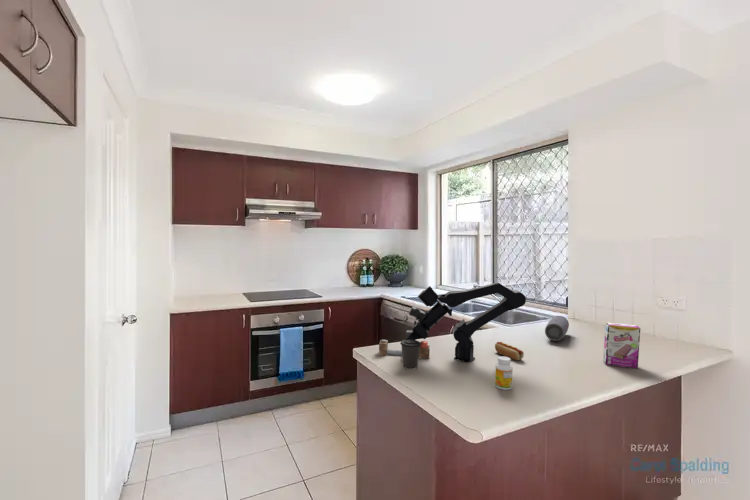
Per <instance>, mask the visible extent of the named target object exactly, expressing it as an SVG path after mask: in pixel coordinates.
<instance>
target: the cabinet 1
mask: <svg viewBox="0 0 750 500" xmlns="http://www.w3.org/2000/svg"><path fill="white" fill-rule="evenodd" d="M388 345H389V341H388V339H380V340H379V344H378V347H379V348H378V355H379V356H384V357H385V356H387V355H388V354H387V349H388V348H389V346H388ZM388 350H389V349H388Z"/></svg>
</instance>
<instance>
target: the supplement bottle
mask: <svg viewBox="0 0 750 500" xmlns="http://www.w3.org/2000/svg"><path fill="white" fill-rule="evenodd" d="M511 360H512V359H510V358H509V357H505V356H503V355H502V356H498V357H497V363H495V374H494V375H495V378H494V386H495V388H497V389H500V390H504V391H507V390H511V389H512V388H513V366H512V364H511V363H512V361H511Z"/></svg>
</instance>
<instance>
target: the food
mask: <svg viewBox="0 0 750 500" xmlns="http://www.w3.org/2000/svg"><path fill="white" fill-rule="evenodd" d="M494 349H495V351H496V352H497V354H499V355H502V356H504V357H509V358H510V359H511V360H514V361H521V360H522V359H523V358H524V356H525V355H524V354H525V353H524V351H523V350H521V349H519V348H518V347H515V346H513V345H510V344H509V343H508V344H507V343H504V341H497V342H496V343H495V344H494Z"/></svg>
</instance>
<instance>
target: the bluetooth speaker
mask: <svg viewBox="0 0 750 500" xmlns="http://www.w3.org/2000/svg"><path fill="white" fill-rule="evenodd" d="M569 327H570V322H569V321H568V319H567V318H566V317H565V316H563V315H555V316H554V317H552V318H551V319H550V320H549V321H548V322H547V324H546V326H545V328H544V333H545V336H546V337H547V338H548V339H549V340H551V341H554V342H557V341H558V342H559V341H561V340H562V339H563V338H564V337H565V336H566V334H567V333H568V330H569Z"/></svg>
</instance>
